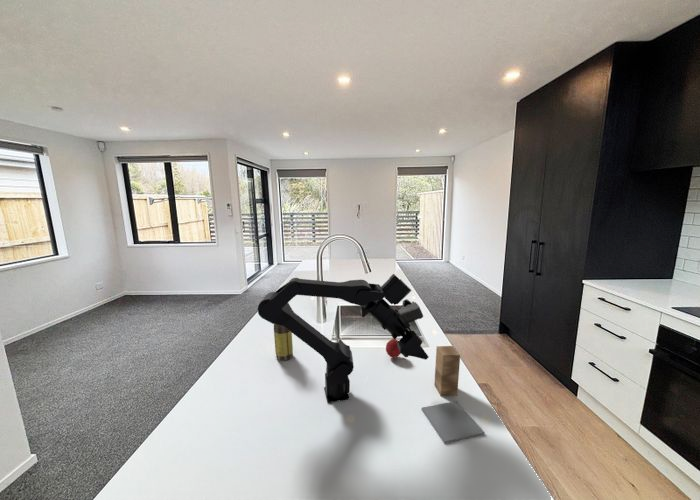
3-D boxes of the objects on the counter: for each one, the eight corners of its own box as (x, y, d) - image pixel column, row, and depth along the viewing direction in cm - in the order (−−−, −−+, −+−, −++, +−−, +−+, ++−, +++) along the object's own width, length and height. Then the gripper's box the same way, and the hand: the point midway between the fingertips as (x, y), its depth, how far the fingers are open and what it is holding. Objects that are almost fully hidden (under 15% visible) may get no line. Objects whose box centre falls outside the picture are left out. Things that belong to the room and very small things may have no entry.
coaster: (444, 443, 63) (444, 441, 63) (421, 409, 74) (421, 407, 74) (484, 434, 66) (484, 432, 66) (456, 402, 77) (456, 400, 76)
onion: (401, 363, 96) (402, 342, 94) (385, 361, 97) (385, 340, 95) (401, 354, 101) (402, 334, 100) (386, 352, 102) (386, 333, 101)
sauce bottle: (288, 350, 104) (286, 301, 100) (296, 357, 99) (294, 306, 96) (272, 356, 100) (269, 305, 96) (279, 364, 95) (277, 310, 92)
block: (440, 396, 79) (443, 355, 77) (434, 385, 84) (436, 346, 82) (457, 395, 79) (460, 354, 77) (450, 384, 84) (452, 345, 82)
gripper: (415, 307, 67) (456, 347, 69) (398, 285, 85) (430, 317, 88) (383, 338, 68) (424, 376, 70) (373, 309, 86) (406, 340, 89)
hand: (421, 349), depth 79 cm, fingers open, 9 cm apart
